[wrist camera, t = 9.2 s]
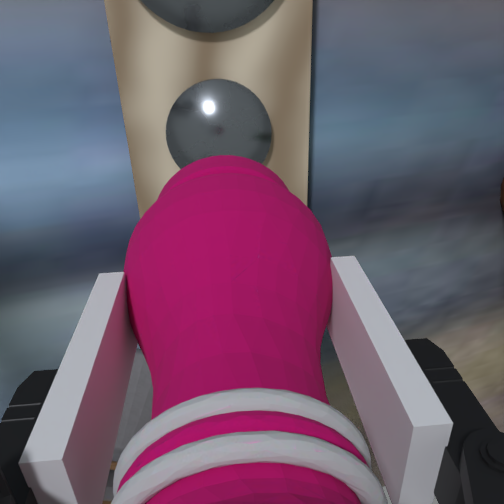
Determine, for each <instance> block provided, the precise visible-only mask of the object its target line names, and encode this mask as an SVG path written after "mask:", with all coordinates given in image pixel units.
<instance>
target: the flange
mask: <svg viewBox="0 0 504 504" xmlns="http://www.w3.org/2000/svg"><path fill="white" fill-rule="evenodd" d="M271 137H272V130H271V123H270V118H269V116H268V113H267V111H266V109H265V107H264V105H263V103H262V102H261V100H260V99H259V98H258V97H257V96H256V95H255V93H253V92H252V91H251V90H250V89H249V88H247V87H245V86H244V85H242V84H240V83H238V82H235V81H232V80H228V79H216V78H215V79H208V80H204V81H200V82H198V83H196V84H194V85H192V86H190V87H189V88H187V89H186V90H185V91H184V92H182V94H181V95H180V96H179V97H178V98H177V99H176V101H175V102H174V104H173V106H172V108H171V110H170V112H169V115H168V118H167V123H166V141H167V146H168V149H169V152H170V154H171V156H172V158H173V160H174V161H175V163H176V164H177V165H178V167H179V168H180V169H182V168H183V167H185V166H187V165H189V164H191V163H192V162H195V161H197V160H200V159H203V158H207V157H211V156H219V155H233V156H240V157H245V158H248V159H251V160H254V161H256V162H259V163H261V164H262V163H263V162H264V160H265V158H266V156H267V154H268V152H269V148H270V144H271Z"/></svg>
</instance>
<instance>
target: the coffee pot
mask: <svg viewBox="0 0 504 504" xmlns="http://www.w3.org/2000/svg"><path fill="white" fill-rule="evenodd" d="M152 401H153V385H152V379H151V373H150V370H149V367H148V365H147V362H146V359H145V357H144V355H143V353H142V350H141V349H136V353H135V357H134V362H133V366H132V371H131V375H130V380H129V384H128V389H127V394H126V398H125V403H124V407H123V412H122V416H121V421H120V425H119V430H118V434H117V439H116V443H115V448H114V452H113V457H112V462H111V466H110V471H109V475H108V480H107V484H106V489H105V493H104V498H103V502H102V504H111V502H112V500H113V498H114V494H113V479H114V472H115V469H116V466H117V463H118V460H119V458H120V456H121V453H122V452H123V450H124V449H125V447H126V446H127V444H128V443H129V441H130V440H131V439H132V437H133V436H134V435H135V434H136V433H137V432H138V431H139V430H140V429H141V428H142V427H143V426H144V425H145V424H146V423H148V422H149V421H151V418H152Z"/></svg>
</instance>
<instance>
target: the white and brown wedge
mask: <svg viewBox="0 0 504 504" xmlns="http://www.w3.org/2000/svg"><path fill="white" fill-rule="evenodd" d="M500 202H501V205H502V209H503V212H504V178H503V181H502V184H501V195H500Z"/></svg>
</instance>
